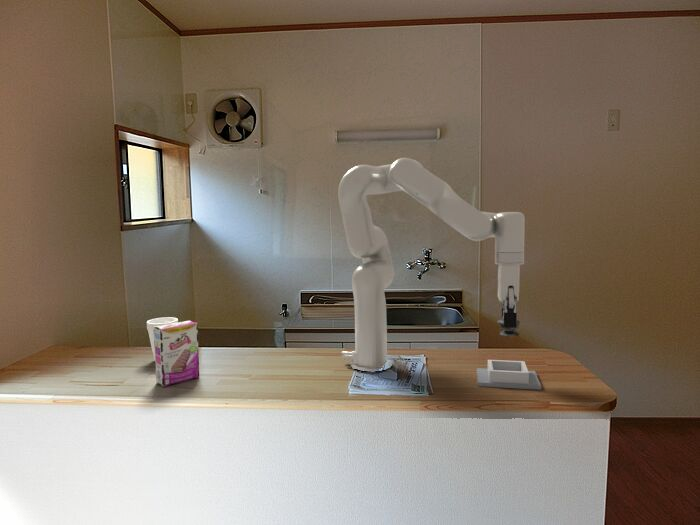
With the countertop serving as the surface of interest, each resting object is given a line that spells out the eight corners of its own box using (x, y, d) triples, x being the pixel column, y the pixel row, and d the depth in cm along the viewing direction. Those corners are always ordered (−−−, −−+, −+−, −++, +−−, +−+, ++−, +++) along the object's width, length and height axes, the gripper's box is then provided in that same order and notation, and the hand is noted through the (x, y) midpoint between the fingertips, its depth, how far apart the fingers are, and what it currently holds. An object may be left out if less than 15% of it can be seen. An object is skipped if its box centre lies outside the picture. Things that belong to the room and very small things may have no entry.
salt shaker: (521, 337, 136) (521, 292, 135) (498, 336, 137) (498, 292, 136) (518, 331, 142) (519, 289, 140) (496, 331, 143) (497, 288, 141)
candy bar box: (163, 388, 140) (160, 329, 138) (155, 383, 144) (152, 326, 142) (201, 377, 148) (198, 322, 146) (192, 373, 151) (189, 319, 149)
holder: (477, 386, 137) (478, 371, 136) (476, 371, 149) (476, 358, 148) (541, 389, 133) (541, 374, 133) (534, 374, 145) (535, 360, 145)
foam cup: (142, 362, 163) (140, 322, 161) (163, 354, 171) (161, 316, 170) (166, 365, 159) (163, 324, 158) (186, 357, 168) (184, 318, 166)
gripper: (492, 255, 146) (492, 316, 148) (497, 262, 129) (496, 331, 132) (520, 254, 145) (519, 317, 147) (528, 262, 128) (527, 332, 130)
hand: (508, 323), depth 139 cm, fingers closed on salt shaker, 5 cm apart
